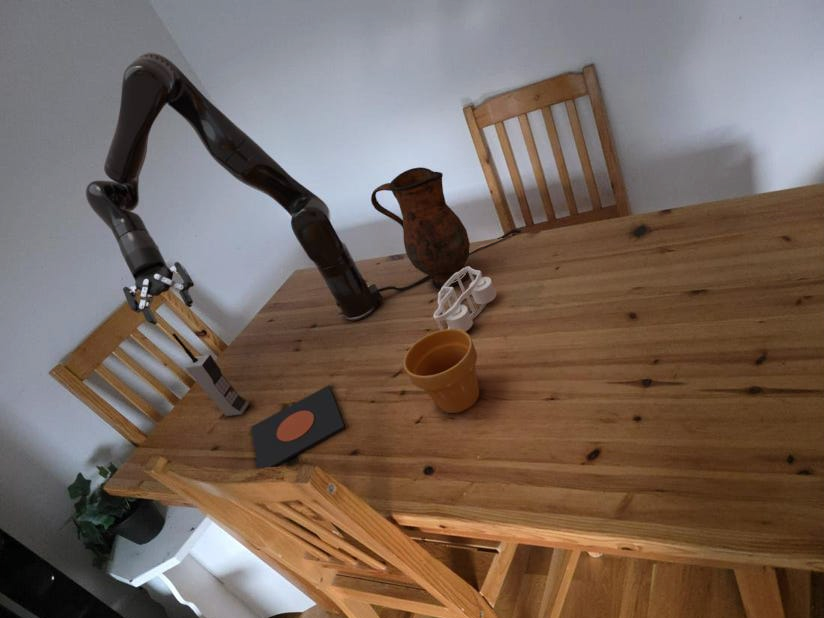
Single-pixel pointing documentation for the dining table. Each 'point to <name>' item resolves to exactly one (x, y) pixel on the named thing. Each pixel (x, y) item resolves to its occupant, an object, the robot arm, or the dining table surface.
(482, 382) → the dining table surface
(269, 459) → the mat
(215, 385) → the vintage mobile phone
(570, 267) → the dining table surface
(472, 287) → the skeletal toy car
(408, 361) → the flower pot
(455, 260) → the pitcher
